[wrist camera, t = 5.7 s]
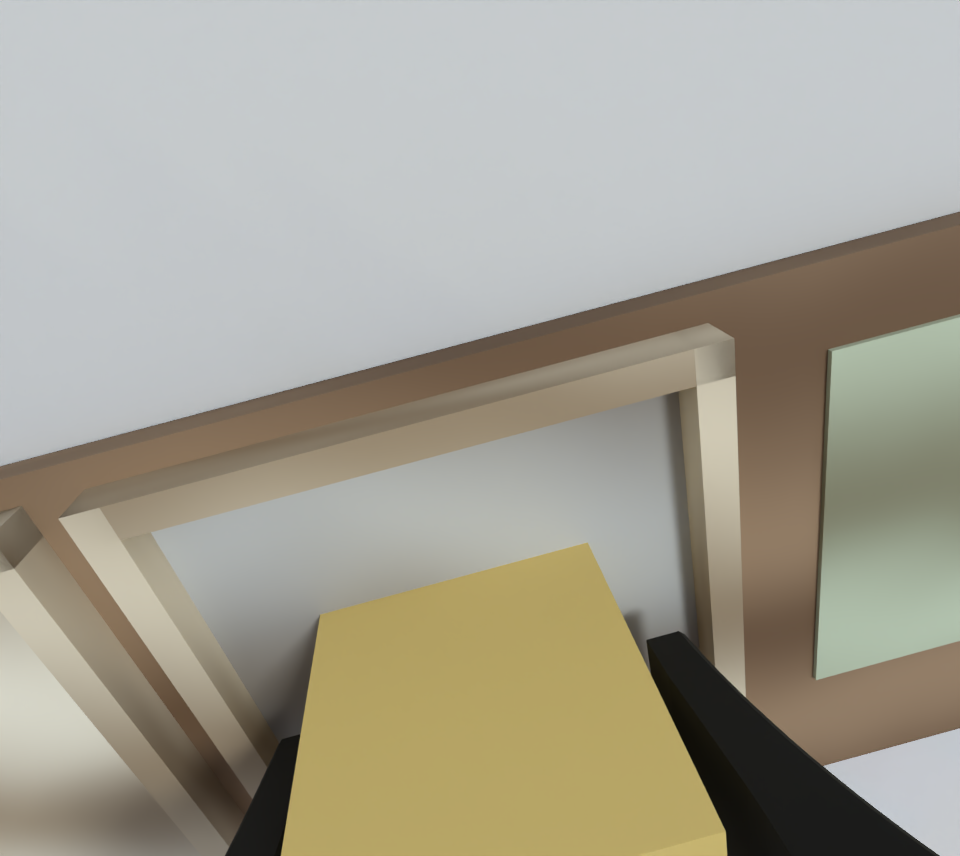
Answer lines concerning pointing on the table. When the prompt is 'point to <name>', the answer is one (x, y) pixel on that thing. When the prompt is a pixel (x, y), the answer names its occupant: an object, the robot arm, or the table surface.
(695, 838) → the letter cube
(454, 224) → the table surface
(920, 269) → the organizer board
